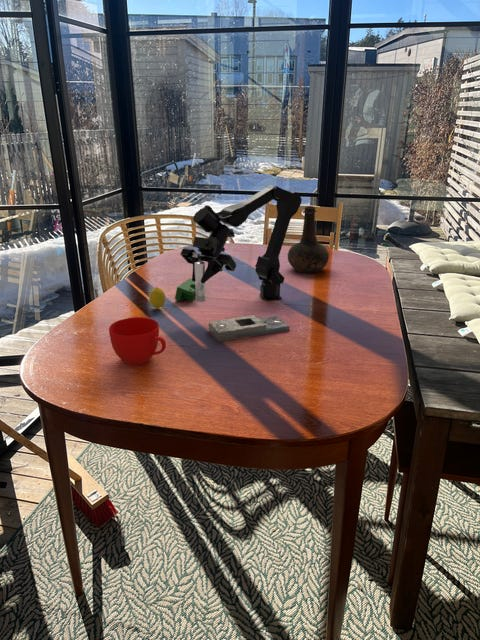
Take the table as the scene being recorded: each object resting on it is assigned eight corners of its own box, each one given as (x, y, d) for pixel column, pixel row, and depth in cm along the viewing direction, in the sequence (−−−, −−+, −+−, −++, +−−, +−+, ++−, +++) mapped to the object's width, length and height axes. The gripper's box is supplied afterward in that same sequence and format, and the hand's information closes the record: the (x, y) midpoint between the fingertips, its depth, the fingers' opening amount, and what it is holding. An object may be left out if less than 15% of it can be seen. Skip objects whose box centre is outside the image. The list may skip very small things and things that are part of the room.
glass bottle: (333, 268, 213) (338, 205, 203) (317, 278, 200) (322, 211, 189) (297, 263, 222) (301, 202, 212) (280, 271, 208) (282, 207, 198)
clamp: (189, 312, 174) (190, 295, 167) (175, 307, 175) (174, 289, 168) (203, 292, 182) (204, 274, 175) (189, 287, 183) (189, 269, 176)
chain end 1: (254, 323, 153) (254, 314, 152) (266, 334, 145) (266, 324, 144) (208, 330, 147) (208, 321, 146) (218, 341, 140) (218, 331, 139)
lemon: (169, 307, 166) (167, 286, 163) (160, 312, 161) (158, 290, 158) (155, 305, 168) (154, 283, 165) (146, 310, 164) (145, 288, 161)
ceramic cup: (149, 380, 118) (146, 343, 115) (102, 363, 127) (98, 329, 123) (182, 360, 129) (180, 326, 125) (136, 346, 137) (133, 313, 133)
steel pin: (203, 298, 155) (202, 261, 150) (206, 301, 152) (206, 263, 148) (194, 299, 154) (193, 262, 149) (197, 302, 151) (196, 264, 147)
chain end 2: (276, 320, 156) (276, 315, 155) (289, 330, 148) (289, 325, 147) (225, 328, 149) (225, 323, 149) (235, 339, 142) (235, 333, 141)
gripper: (182, 223, 152) (161, 264, 148) (231, 229, 143) (210, 273, 138) (197, 242, 161) (179, 281, 157) (244, 249, 152) (225, 291, 148)
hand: (197, 281), depth 150 cm, fingers closed on steel pin, 3 cm apart
